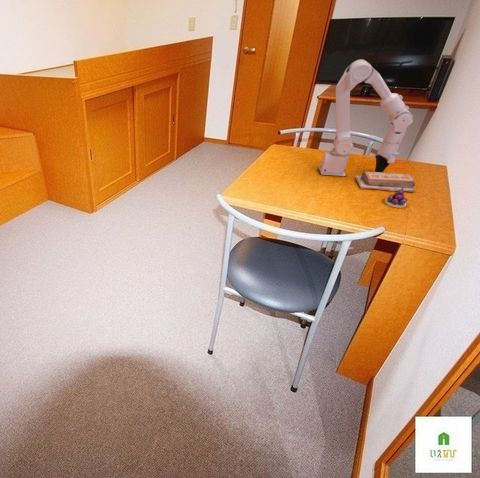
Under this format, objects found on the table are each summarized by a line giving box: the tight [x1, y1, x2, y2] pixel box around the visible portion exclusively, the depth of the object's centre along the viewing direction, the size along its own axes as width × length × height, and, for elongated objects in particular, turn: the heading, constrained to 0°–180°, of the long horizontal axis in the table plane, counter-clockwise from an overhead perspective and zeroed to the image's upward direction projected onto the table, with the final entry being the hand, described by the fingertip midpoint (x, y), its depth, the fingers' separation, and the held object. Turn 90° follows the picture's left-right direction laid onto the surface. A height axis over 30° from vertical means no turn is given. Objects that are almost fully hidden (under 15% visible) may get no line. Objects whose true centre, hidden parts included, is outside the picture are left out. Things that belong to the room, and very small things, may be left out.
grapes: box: [384, 187, 408, 209], centre depth 116 cm, size 6×6×7 cm
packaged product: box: [355, 170, 416, 193], centre depth 128 cm, size 18×5×10 cm
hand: (378, 173), depth 136 cm, fingers closed
